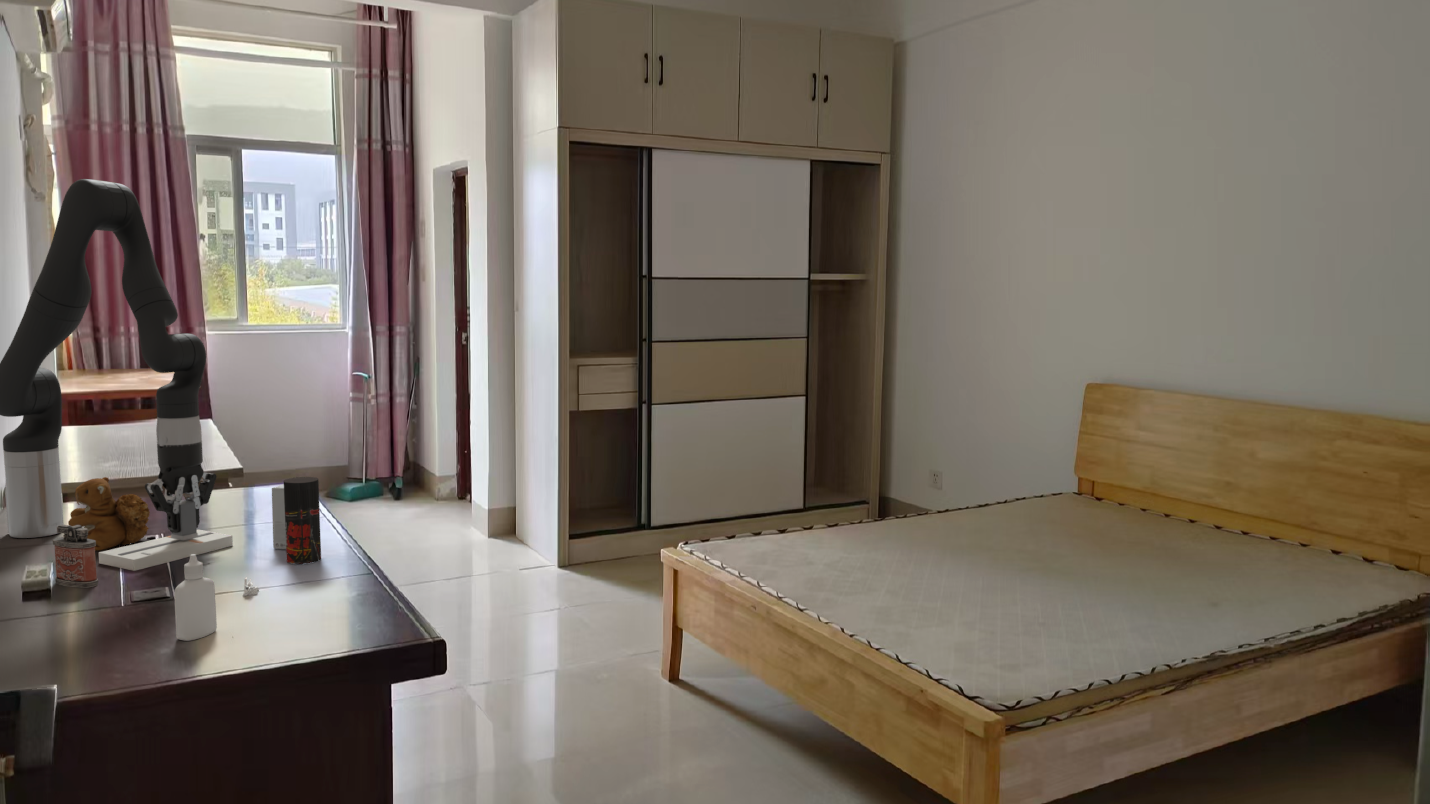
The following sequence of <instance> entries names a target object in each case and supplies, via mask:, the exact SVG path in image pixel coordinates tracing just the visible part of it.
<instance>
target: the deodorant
mask: <svg viewBox="0 0 1430 804" xmlns="http://www.w3.org/2000/svg"><path fill="white" fill-rule="evenodd" d="M283 484H284V505H285V531H286V549H285V555H286V563H287V564H290V565H306V564H307V565H308V564H313V563H317V562H319V561H321V560H322V547H321V546H322V545H321V544H322V543H321V542H322V541H321V540H322V539H321V518H320V516H321V515H320V513H321V512H320V487H319V486H320V485H319V484H320V482H319V478H318V477H314V476H298V477H297V476H296V477H290V478H286V479H284V480H283Z"/></svg>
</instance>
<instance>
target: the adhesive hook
mask: <svg viewBox="0 0 1430 804" xmlns="http://www.w3.org/2000/svg"><path fill="white" fill-rule="evenodd" d="M247 579H248V577H247V576H246V577H244V585H243V586H244V589H243V594H242V597H247V596H250V595H258V592H260V589H259V587H258V586H254V583H253V582H252V579H251V578H249V580H247Z"/></svg>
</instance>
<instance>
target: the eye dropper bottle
mask: <svg viewBox="0 0 1430 804" xmlns="http://www.w3.org/2000/svg"><path fill="white" fill-rule="evenodd" d="M183 566H184V567H183V571H184V580H182V581H181V582H180V583H178V585H177V586H176V587H175V589H174V595H173V596H174V614H175V615H174V617H175V620H174V621H175V635H176V636H175V637H176V639H177V640H179V641H185V642H190V641H195V640H199V639H201V638H205V637H207V636H210V635H212V634H213V633H214V632H215V631H217V628H218V627H217V625H218V624H217V605H216V604H217V603H216V588H215V587H216V586H215V581H214V579H212V578H209V577H204V563H203V561H199V560H198V557H197V555H196V554H191V555H190V557H189V561H188V562H186V563H184V565H183Z"/></svg>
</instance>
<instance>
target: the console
mask: <svg viewBox="0 0 1430 804" xmlns="http://www.w3.org/2000/svg"><path fill="white" fill-rule="evenodd" d="M197 533H198V537H196V538H192V539H188V540H178V539H173V538H171V535H167V536H163V537H159V538H156V539H155V538H154V539H151V540H147V541H142V542H138V543H134V544H129V545H126V546H125V545H124V546H121V547H116V548H112V549H111V548H110V549H109V550H107V549H106V550H102V551H99V552H98V563H99V564H101V565H105V566H109V567H110V566H111V567H113V568H121V569H124V570H128V571H133V572H135V571H139V570H143V569H146V568H151V567H154V566H159V565H162V564H167V563H170V562H174V561H178V560H181V559H186V558H190V555H191V554H196V556H198V555H201V554H205V553H208V552H213V551H217V550H221V549H225V548H230V547H233V546H234V543H233V541H234V540H233V535H230V534H225V533H220V532H215V531H209V530H204V529H203V530H202V529H197Z"/></svg>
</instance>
